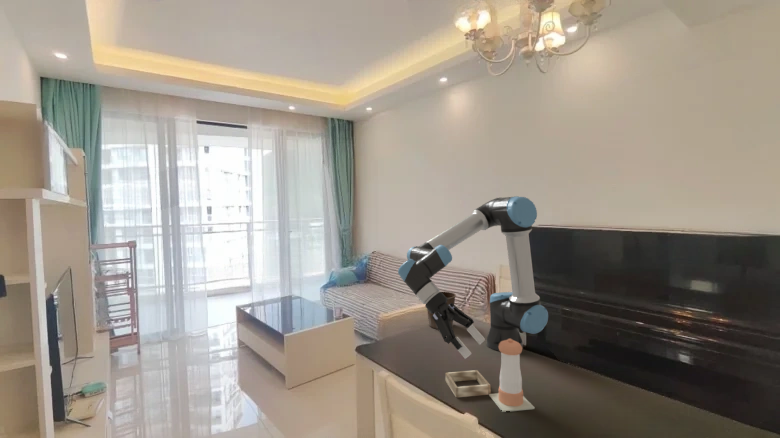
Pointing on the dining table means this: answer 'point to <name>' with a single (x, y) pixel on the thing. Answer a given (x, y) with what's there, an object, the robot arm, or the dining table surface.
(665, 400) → the dining table surface
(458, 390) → the birch surround
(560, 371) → the dining table surface
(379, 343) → the dining table surface
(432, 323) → the plant pot
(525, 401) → the sage pad
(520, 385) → the pepper shaker
